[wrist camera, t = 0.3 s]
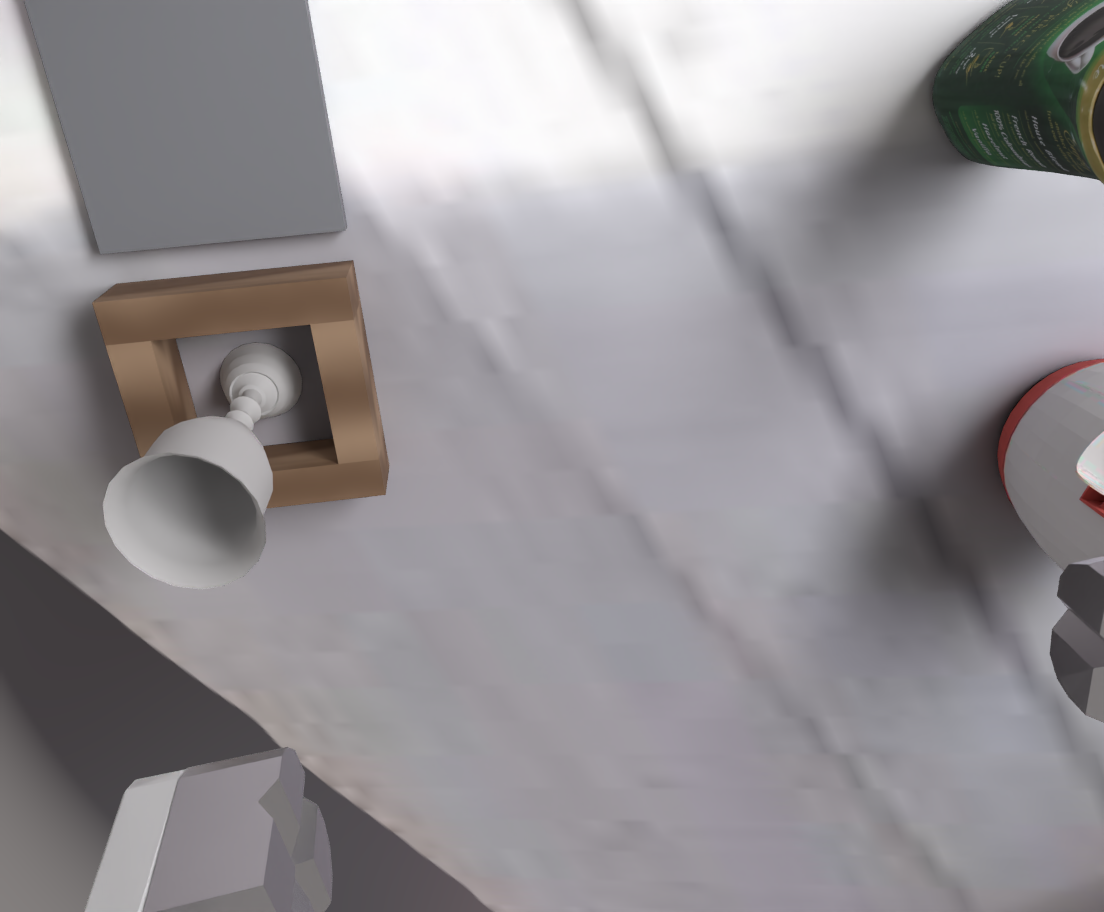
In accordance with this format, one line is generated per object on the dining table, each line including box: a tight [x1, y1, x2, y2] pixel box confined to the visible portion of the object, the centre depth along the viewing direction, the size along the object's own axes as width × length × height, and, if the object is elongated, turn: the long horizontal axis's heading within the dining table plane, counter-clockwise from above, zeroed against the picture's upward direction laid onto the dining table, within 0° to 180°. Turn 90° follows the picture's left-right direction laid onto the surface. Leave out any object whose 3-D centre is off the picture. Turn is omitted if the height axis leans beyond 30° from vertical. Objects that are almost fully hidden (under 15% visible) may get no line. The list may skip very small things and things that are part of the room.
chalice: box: [103, 342, 302, 589], centre depth 48 cm, size 7×7×18 cm
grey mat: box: [24, 0, 347, 254], centre depth 49 cm, size 14×14×1 cm
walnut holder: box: [92, 260, 389, 508], centre depth 55 cm, size 14×14×4 cm
